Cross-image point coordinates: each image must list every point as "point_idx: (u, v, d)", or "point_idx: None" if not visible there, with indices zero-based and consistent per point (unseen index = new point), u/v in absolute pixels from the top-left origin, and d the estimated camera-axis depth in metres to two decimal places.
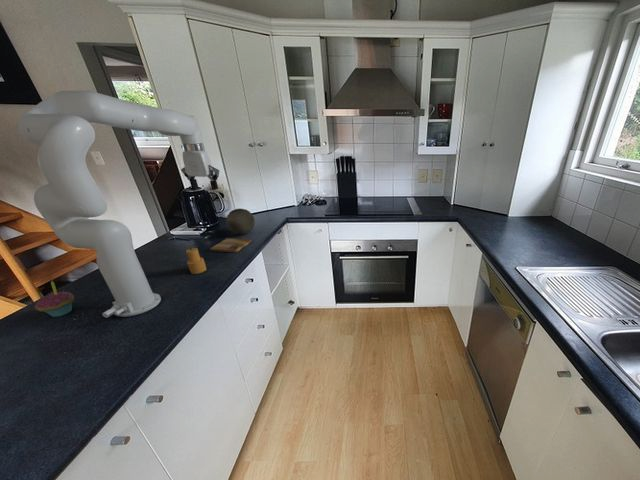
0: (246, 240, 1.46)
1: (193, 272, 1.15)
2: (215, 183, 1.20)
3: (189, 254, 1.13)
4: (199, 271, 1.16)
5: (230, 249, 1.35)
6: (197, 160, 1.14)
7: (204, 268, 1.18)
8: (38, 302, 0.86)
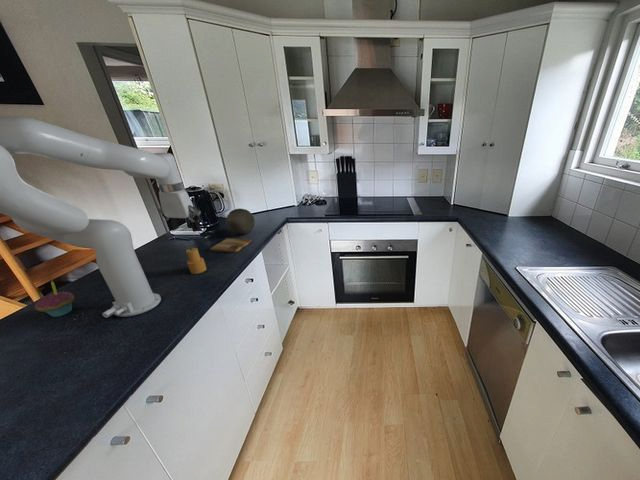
0: (246, 240, 1.46)
1: (193, 272, 1.15)
2: (196, 224, 1.09)
3: (189, 254, 1.13)
4: (199, 271, 1.16)
5: (230, 249, 1.35)
6: (175, 201, 1.02)
7: (204, 268, 1.18)
8: (38, 302, 0.86)
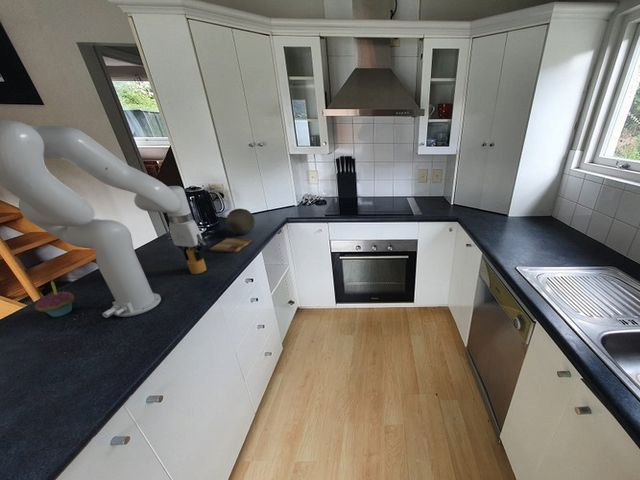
0: (246, 240, 1.46)
1: (193, 272, 1.15)
2: (199, 254, 1.14)
3: (189, 254, 1.13)
4: (199, 271, 1.16)
5: (230, 249, 1.35)
6: (184, 231, 1.07)
7: (204, 268, 1.18)
8: (38, 302, 0.86)
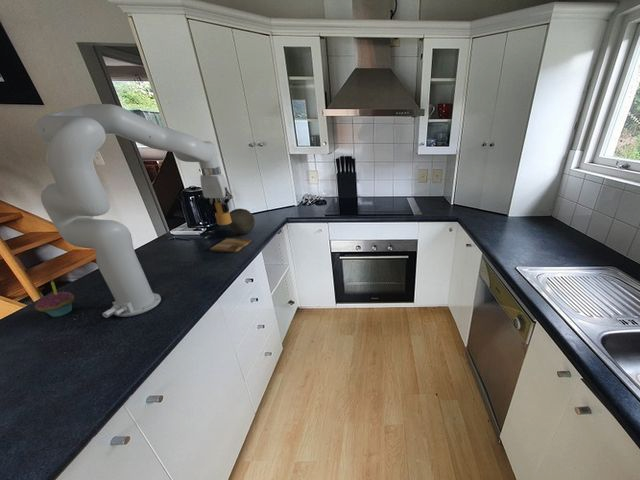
0: (246, 240, 1.46)
1: (220, 223, 1.27)
2: (226, 206, 1.26)
3: (217, 206, 1.24)
4: (226, 222, 1.28)
5: (230, 249, 1.35)
6: (214, 183, 1.19)
7: (230, 220, 1.29)
8: (38, 302, 0.86)
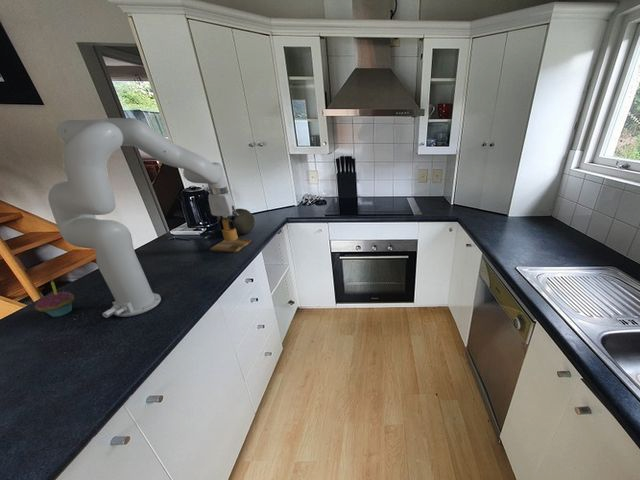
0: (246, 240, 1.46)
1: (227, 239, 1.32)
2: (233, 223, 1.31)
3: (224, 223, 1.30)
4: (232, 239, 1.33)
5: (230, 249, 1.35)
6: (222, 202, 1.24)
7: (236, 236, 1.35)
8: (38, 302, 0.86)
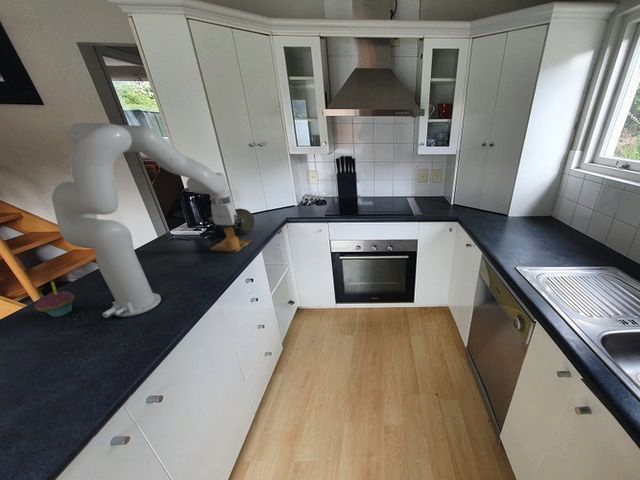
0: (246, 240, 1.46)
1: (229, 248, 1.34)
2: (239, 230, 1.32)
3: (227, 232, 1.32)
4: (234, 247, 1.35)
5: None
6: (224, 212, 1.26)
7: (238, 245, 1.37)
8: (38, 302, 0.86)
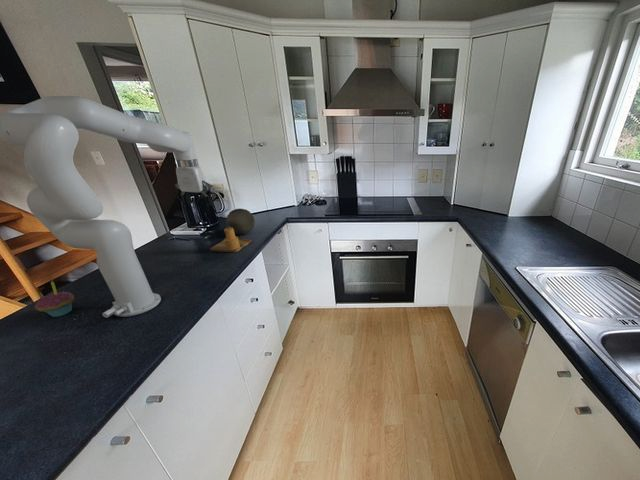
0: (246, 240, 1.46)
1: (229, 248, 1.34)
2: (209, 199, 1.18)
3: (227, 232, 1.32)
4: (234, 247, 1.35)
5: None
6: (190, 176, 1.12)
7: (238, 245, 1.37)
8: (38, 302, 0.86)
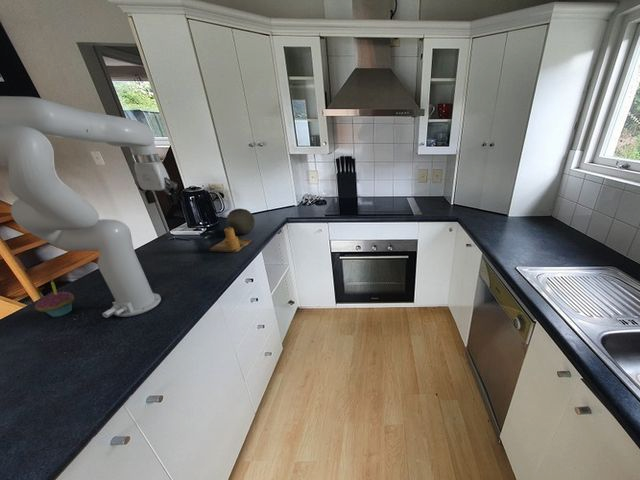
0: (246, 240, 1.46)
1: (229, 248, 1.34)
2: (173, 197, 1.09)
3: (227, 232, 1.32)
4: (234, 247, 1.35)
5: None
6: (151, 172, 1.02)
7: (238, 245, 1.37)
8: (38, 302, 0.86)
